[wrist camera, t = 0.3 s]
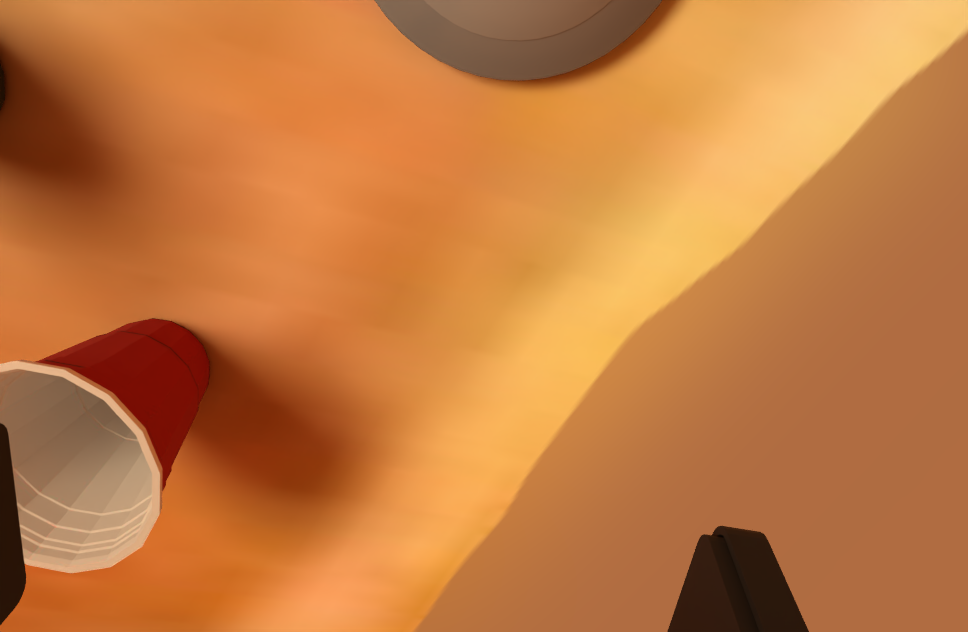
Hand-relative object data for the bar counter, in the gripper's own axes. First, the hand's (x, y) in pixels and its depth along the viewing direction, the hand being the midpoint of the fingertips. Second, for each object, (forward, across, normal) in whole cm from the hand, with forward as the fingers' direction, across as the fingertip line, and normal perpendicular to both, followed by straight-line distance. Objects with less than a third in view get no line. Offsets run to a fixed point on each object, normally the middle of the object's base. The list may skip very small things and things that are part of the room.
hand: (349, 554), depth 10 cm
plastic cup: (+31, +17, +15) cm, 38 cm away
